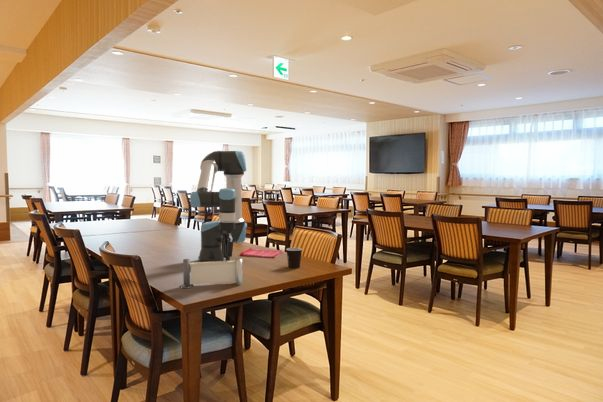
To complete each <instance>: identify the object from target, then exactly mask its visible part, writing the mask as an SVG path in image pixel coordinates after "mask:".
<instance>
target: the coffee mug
mask: <svg viewBox="0 0 603 402" xmlns="http://www.w3.org/2000/svg"><path fill="white" fill-rule="evenodd" d="M302 252H303V248H300V247H288V248H286V257H287V266H288V268H289V269H300V268H301V260H302V254H303V253H302Z"/></svg>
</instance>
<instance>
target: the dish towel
mask: <svg viewBox="0 0 603 402" xmlns="http://www.w3.org/2000/svg"><path fill="white" fill-rule="evenodd" d="M282 252H283V250H282V249H281V250H279V251H278V250H271V249H269V250H268V249H255V248H251V247H250V248H249V249H246V250H244V251H241V252H240V254H239V256H240V257H247V258H248V257H250V258H264V259H276V258H277V256H278V257H280V256H281V255H282ZM280 254H281V255H280ZM275 257H276V258H275Z"/></svg>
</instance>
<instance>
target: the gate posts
mask: <svg viewBox="0 0 603 402" xmlns="http://www.w3.org/2000/svg"><path fill="white" fill-rule="evenodd" d="M235 259H236V283H235V285H236V286H243V258H235ZM194 285H195V284H191V283H190V285H187V286H185V285H184V283H183V284H181V285H179V288H180V287H182V288H181V289H189V288H188V287H191V288H194Z"/></svg>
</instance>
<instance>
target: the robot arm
mask: <svg viewBox="0 0 603 402" xmlns="http://www.w3.org/2000/svg"><path fill="white" fill-rule="evenodd" d="M199 169H200V174H199V175H200V176H199V180H198V183H197V188H196V191H192V192H191V193H190V196H189V201H190V206H191V207H193V208H218V213H219V214H218V215H217V216H218V220H213V221H206V222H204V223H201V225H200V246H201V247H200V251H199V256H197V257H198V258H197V261H198V262H214V261H231V258H232V257H233V251H234V250H233V249H234V244H238V243H239V244H240V243H244V242H245V240H246V234H247V227H248V223H247V222H245V219H244V218H243V214H242V213H243V210H242V209H243V207H242V206H243V205H242V202H243V201H242V200H243V199H242V198H243V197H242V177H243V176H244V175H245V172H247V163H246V155H245V153H244V152H243V151H242V150H241V151H240V150H216V151H212V152H210V153H209V154H207V155H205V157H204V158H203V159H202V160H201V163H200V167H199ZM217 172H223V175H224V176H225V178H226V179H225V180H226V188H220V189H219V191H213V187H214V183H215V175H216V174H217Z"/></svg>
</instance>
